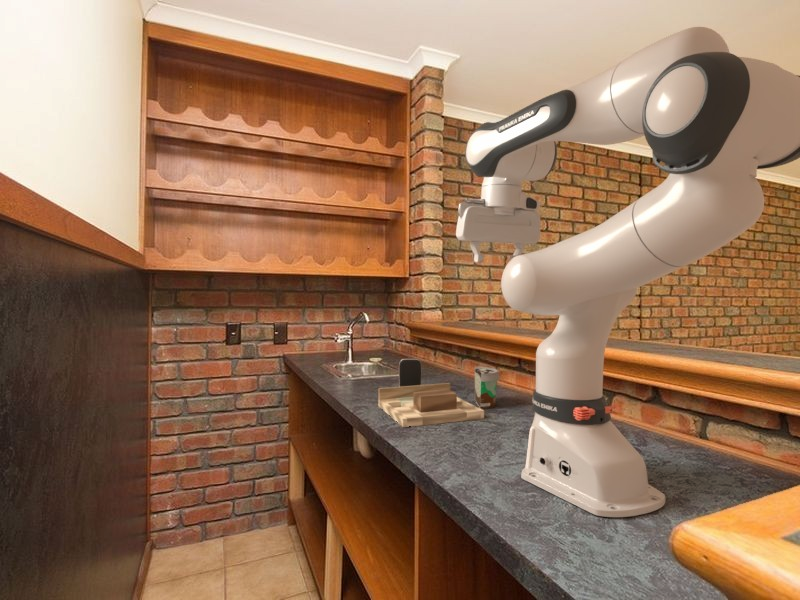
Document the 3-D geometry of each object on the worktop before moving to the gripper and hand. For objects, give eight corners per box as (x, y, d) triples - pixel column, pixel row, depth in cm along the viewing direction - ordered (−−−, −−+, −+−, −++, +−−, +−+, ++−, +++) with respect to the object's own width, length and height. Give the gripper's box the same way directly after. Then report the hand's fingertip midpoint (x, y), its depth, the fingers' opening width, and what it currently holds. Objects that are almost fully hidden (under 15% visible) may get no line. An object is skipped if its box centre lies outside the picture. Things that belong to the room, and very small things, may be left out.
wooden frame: (484, 418, 107) (484, 398, 107) (403, 427, 100) (403, 406, 99) (448, 399, 126) (448, 382, 126) (378, 405, 118) (378, 388, 118)
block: (456, 409, 108) (456, 393, 108) (420, 412, 105) (420, 396, 105) (447, 404, 113) (448, 389, 113) (413, 407, 110) (413, 392, 109)
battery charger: (420, 393, 133) (420, 357, 133) (421, 396, 129) (421, 359, 129) (398, 393, 133) (398, 357, 133) (398, 396, 129) (399, 359, 129)
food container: (503, 411, 114) (504, 374, 114) (481, 410, 114) (481, 374, 114) (494, 399, 126) (494, 366, 126) (474, 399, 126) (474, 366, 126)
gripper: (466, 195, 88) (462, 261, 90) (546, 203, 95) (542, 264, 97) (452, 198, 94) (449, 260, 95) (529, 205, 101) (525, 263, 102)
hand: (496, 262), depth 96 cm, fingers open, 8 cm apart
